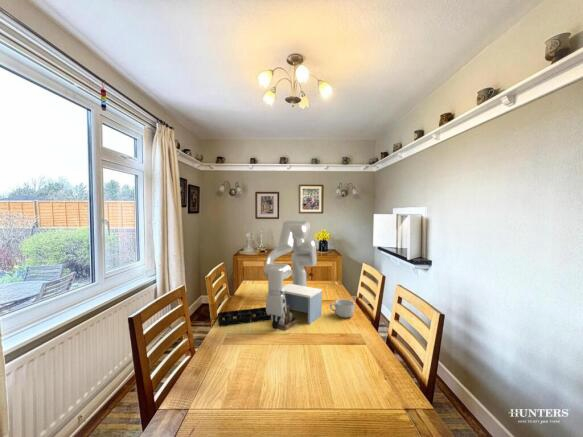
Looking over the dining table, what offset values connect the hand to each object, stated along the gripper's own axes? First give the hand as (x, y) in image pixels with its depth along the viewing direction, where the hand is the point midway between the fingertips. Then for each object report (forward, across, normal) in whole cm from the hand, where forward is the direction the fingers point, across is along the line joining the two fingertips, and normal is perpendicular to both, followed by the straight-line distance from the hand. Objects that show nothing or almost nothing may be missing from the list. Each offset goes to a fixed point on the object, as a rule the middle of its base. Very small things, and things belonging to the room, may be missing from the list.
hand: (275, 327), depth 133 cm
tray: (+2, 0, -9) cm, 9 cm away
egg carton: (+2, +23, -2) cm, 23 cm away
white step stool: (+1, 0, -23) cm, 23 cm away
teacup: (+2, -21, -36) cm, 42 cm away
